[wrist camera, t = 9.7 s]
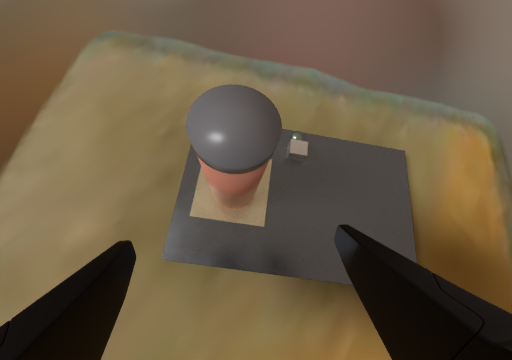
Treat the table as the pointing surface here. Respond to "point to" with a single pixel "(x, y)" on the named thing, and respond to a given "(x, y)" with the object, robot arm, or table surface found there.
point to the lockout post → (233, 140)
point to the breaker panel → (296, 210)
